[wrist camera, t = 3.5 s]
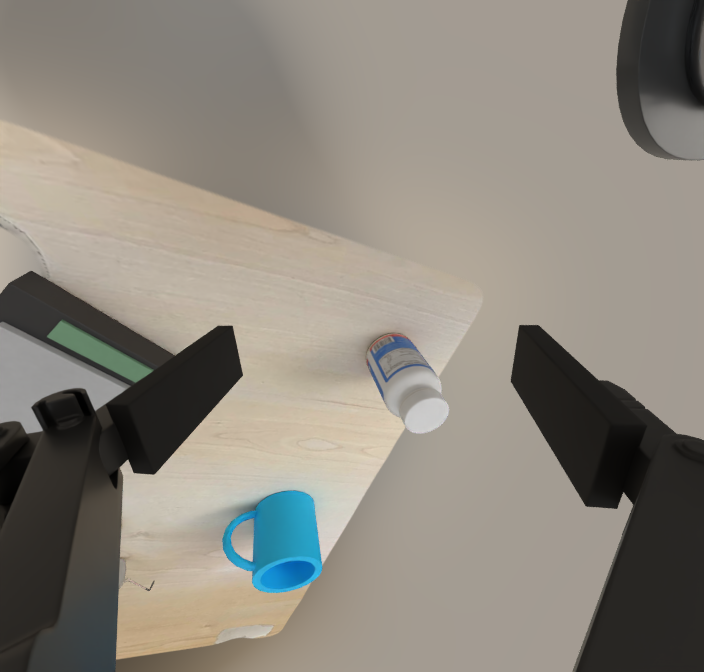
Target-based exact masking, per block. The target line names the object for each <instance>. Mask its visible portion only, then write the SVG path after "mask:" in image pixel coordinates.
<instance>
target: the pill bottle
mask: <svg viewBox="0 0 704 672" xmlns="http://www.w3.org/2000/svg"><path fill="white" fill-rule="evenodd" d="M366 362H367V365H368V368H369V370H370V372H371V374H372V377H373V379H374V381H375V383H376V385H377V387H378V389H379V392H380V394H381V396H382V398H383V400H384V402H385V404H386V406H387V408H388V410H389V411H390V412H391V413H392V414H394V415H395V416H397V417H400V418H401V419H402V421H403V423H404V425H405V427H406V428H407V429H408V430H409V431H411V432H414V433H426V432H430V431H432V430H434V429H436V428H437V427H439V426H440V425H441V424H442V423H443V422H444V421H445V420H446V418H447V417H448V413H449V406H448V404H447V402H446V401H445V399H444V398H443V396H442V394H441V392H442V386H441V382H440V380H439V378H438V376H437V375H436V374H435V372H434V371H433V370H432V368H431V367H430V366H429V364H428V363H427V362H426V360H425V359H424V358H423V356H422V355H421V354H420V352H419V351H418V350H417V348H416V347H415V346H414V344H413V343H412V342H411V341H410V339H408V338H407V337H406V336H404V335H401V334H396V333H392V334H387V335H384V336H382V337H380V338H378V339H377V340H376V341H375V342H374V343H372V345H371V346H370V348H369V349H368V352H367V355H366Z"/></svg>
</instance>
